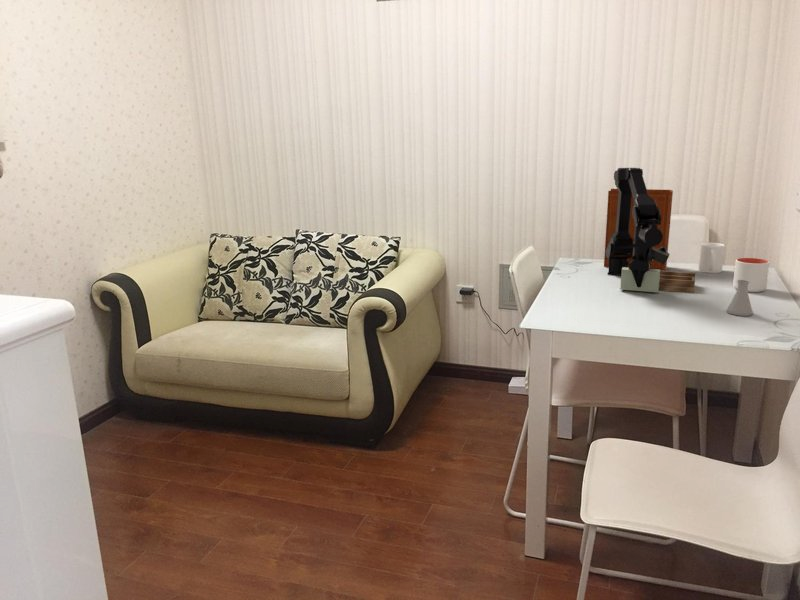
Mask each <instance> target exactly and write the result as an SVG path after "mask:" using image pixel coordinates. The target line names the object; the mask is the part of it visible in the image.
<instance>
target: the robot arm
mask: <svg viewBox="0 0 800 600" xmlns="http://www.w3.org/2000/svg"><path fill="white" fill-rule="evenodd" d="M643 172H644V170H643V169H642V168H640V167H618V168H617V170H614V173H613V180H614V185H615V187H616V189H618V191H619V196H618V208H617V220H616V231H615V232H614V233H613V235H612V236H611V238H610V243H609V244H608V247H607V249H606V257H607V258H608V259H609V267H608V272H607V275H611V276H621V272H622V268H623V267H626V268H628V267H629V270H631V271H632V274H633V277H634V279H635V282H636V285H637V287H641V285H642V281H643V277H644V274H645V273H646V272H647V271H649V269H650V266H651V263H649V262H648V261H651V262H652V261H653V260H655V261H658V262H660V263H661V264H665V263H666V261H667V262H668V259H669V257H670V252H668V253H667V251H666V248H665V247H661V248H660V249H658V248H657V249H656V248H654V247H653V246H656V245H658V244H659V243H660V242H661V241H662V238H663V235H662V232H661V231H660V230H659V229H657V225H661V220H662V219H661V215H660V211H659V208H658V206H657V204H656V202H655V200H654V199H653V198H651V197H650V196H649V195H648V192H647V186H646V182H645V180H644V173H643ZM632 195H633V199H634V202H635V203H634V206H633V208H632V216H633V219H634V222H635V233H634V243H633V239H632V238H631V236H630V234H629V222H630V211H631V200H632ZM654 219H655V220H654ZM611 254H612V255H611ZM632 254H633V256H632ZM627 258H630V259H631V258H632V259H633V260H632V261H631V262H630V263H629V262H628V261H627ZM647 260H648V261H647Z"/></svg>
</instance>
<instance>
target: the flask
mask: <svg viewBox="0 0 800 600" xmlns="http://www.w3.org/2000/svg"><path fill="white" fill-rule="evenodd" d="M737 282H738V288H737V289H736V291H735V294H734V295H733V298H732V300H731V301H730V303H729V306H727V308H726V312H727V313H728V314H729V315H734V316H739V317H741V316H742V317H743V316H744V317H750V316H752V315H754V312H753V308H752V305H751V301H750V298H749V297H750V296H749V292H748V284H749V281H748V280H737Z"/></svg>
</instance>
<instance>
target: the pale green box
mask: <svg viewBox="0 0 800 600" xmlns="http://www.w3.org/2000/svg"><path fill="white" fill-rule="evenodd" d="M659 279H660V270H656V269H649V271H647V272H646V273H645V274H644V277H643V281H642V285H641V287H637V285H636V282H635V279H634V277H633V274H632V271H631V270H629V268H626V267H623V268H622V272H621V275H620V290H622V291H624V290H625V291H634V292H635V291H636V292H648V293H659V291H660V290H659Z"/></svg>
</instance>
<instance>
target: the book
mask: <svg viewBox="0 0 800 600" xmlns="http://www.w3.org/2000/svg"><path fill="white" fill-rule="evenodd" d="M646 189H647V188H646ZM647 192H648V195H649V196H650V197H651V198H653V199H654V200H655V202H656V204H657V206H658V208H659V211H660V215H661V219H662V220H661V225H657V229H659V230H660V231H661V232H662V235H663V238H662V241H661V242H660V243H659V244H658V245H656V246H653V247H654V248H656V249H657V248H658V249H660V248H661V247H665V248H666V251H667V253H669V242H670V241H669V239H670V229H671V219H672V218H671V216H672V205H673V193H674V190H672V189H651V188H650V189H647ZM607 195H608V196H607V208H606V209H607V210H606V211H607V213H606V223H605V224H606V227H605V240H604V241H605V243H604V257H603V268H609V259H608V258H607V257H606V249H607V247H608V244H609V243H610V238H611V236H612V235H613V233H614V232H615V231H616V220H617V208H618V196H619V191H618V189H617V188H610V190H608V193H607ZM634 203H635V202H634V199H633V195H632V200H631V211H630V222H629V234H630V236H631V238H632V239H633V243H634V233H635V222H634V219H633V216H632V208H633V206H634ZM654 220H655V219H654ZM611 255H612V254H611ZM632 256H633V254H632ZM632 260H633V259H632V258H631V259H630V258H627V261H628V262H629V263H630V262H631V261H632ZM647 261H648V260H647ZM648 262H649V263H651V266H650V269H656V270H660V271H667V265H668V260H667V261H666V263H665V264H661V263H660V262H658V261H655V260H653V261H652V262H651V261H648ZM628 268H629V267H628Z"/></svg>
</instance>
